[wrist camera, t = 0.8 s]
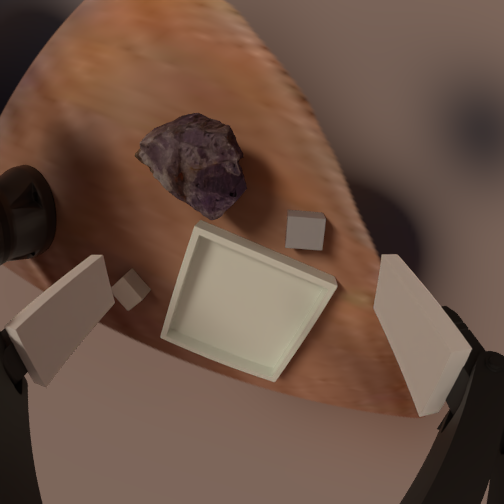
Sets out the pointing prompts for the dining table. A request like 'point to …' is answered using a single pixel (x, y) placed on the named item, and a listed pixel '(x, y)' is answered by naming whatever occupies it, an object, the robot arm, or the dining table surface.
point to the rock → (196, 162)
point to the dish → (243, 302)
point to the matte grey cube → (130, 289)
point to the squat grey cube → (305, 230)
